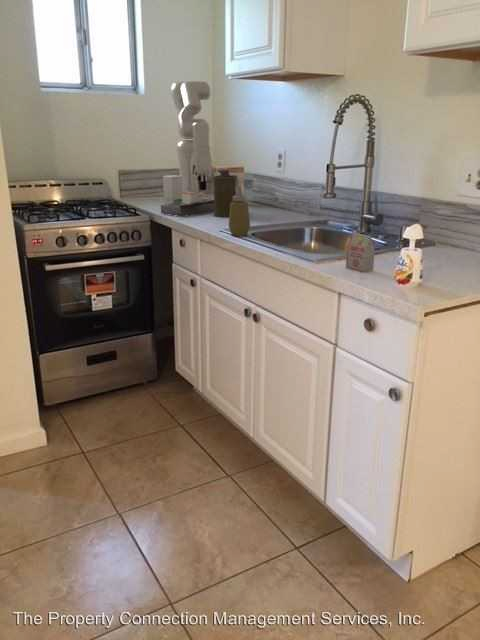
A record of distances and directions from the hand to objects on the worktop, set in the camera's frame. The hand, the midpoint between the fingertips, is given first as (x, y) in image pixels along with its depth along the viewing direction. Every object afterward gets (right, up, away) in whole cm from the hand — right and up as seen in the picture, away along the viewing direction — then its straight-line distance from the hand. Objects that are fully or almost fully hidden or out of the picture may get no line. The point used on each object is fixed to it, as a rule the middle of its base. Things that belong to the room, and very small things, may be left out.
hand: (202, 189), depth 262 cm
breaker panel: (-6, -11, -2) cm, 13 cm away
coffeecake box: (+13, -3, +20) cm, 24 cm away
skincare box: (-16, -6, +15) cm, 22 cm away
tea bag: (+52, -48, -108) cm, 129 cm away
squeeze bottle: (+18, -31, -58) cm, 68 cm away
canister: (+11, -15, -12) cm, 22 cm away
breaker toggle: (-6, -7, -3) cm, 10 cm away
